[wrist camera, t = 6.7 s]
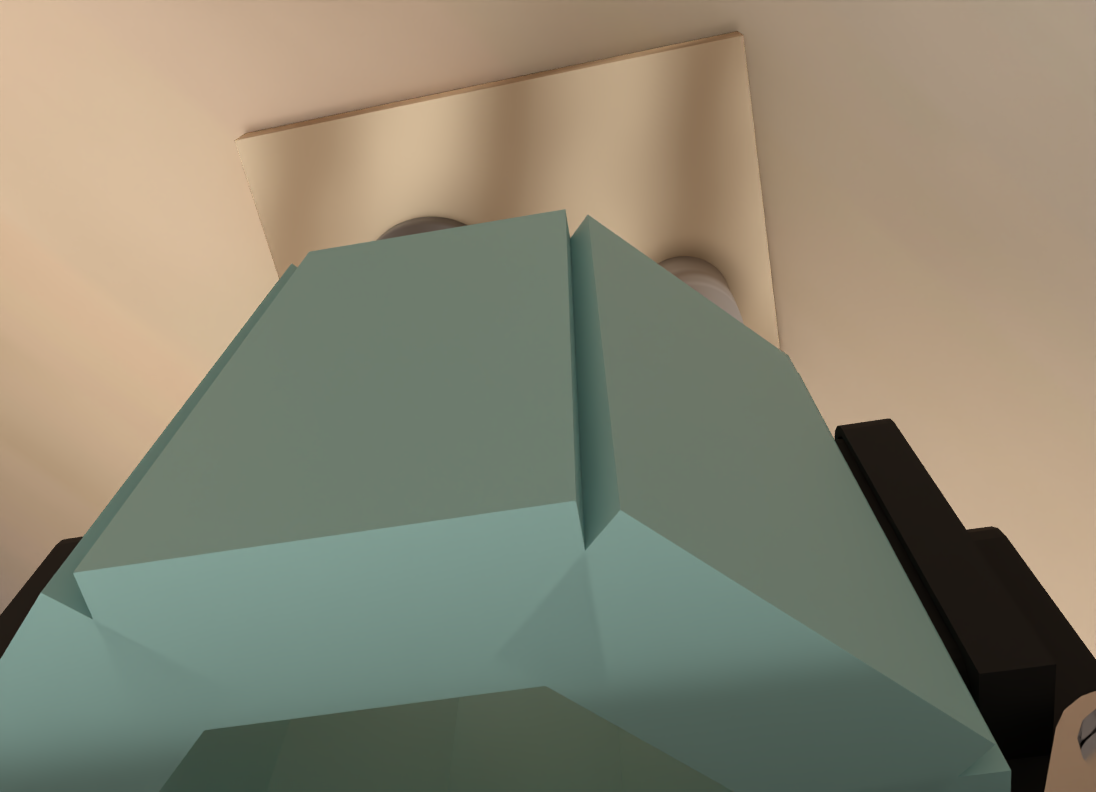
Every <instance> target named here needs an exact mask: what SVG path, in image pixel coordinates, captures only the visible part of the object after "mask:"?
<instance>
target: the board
mask: <svg viewBox="0 0 1096 792" xmlns="http://www.w3.org/2000/svg"><path fill="white" fill-rule="evenodd" d="M235 144H236V147H237V151H238V154H239V157H240V160H241V163H242V166H243V169H244V172H245V175H246V178H247V181H248V184H249V187H250V190H251V194H252V197H253V200H254V203H255V206H256V209H257V212H258V215H259V218H260V221H261V224H262V227H263V230H264V234H265V237H266V240H267V243H268V246H269V249H270V252H271V255H272V258H273V261H274V264H275V267H276V270H277V273H278V277H279V279H280V278H281V277H282V275H283V274H284V273H285V271H286V270H287V269H288V267H289V266H290V265H291V263H292V264H293V265H295V266H296V267H298V266H299V265H300V264H301V262H302V261H303V259H304V258H305V257H306V255H307V254H308V253H309V252H310V251H316V250H322V249H328V248H334V247H340V246H346V245H352V244H358V243H364V242H370V241H376V240H382V239H388V238H394V237H400V236H406V235H412V234H418V233H425V232H431V231H437V230H443V229H449V228H455V227H461V226H467V225H473V224H479V223H485V222H491V221H497V220H503V219H509V218H515V217H521V216H527V215H533V214H539V213H545V212H551V211H557V210H563V209H566V216H567V222H568V228H569V234H570V238H571V236H572V235H573V234H574V232H575V231H576V230H577V228H578V227H579V226H580V224H581V223H582V222H583V220H584V219H585V217H586V216H587V215H589V216H591V217H592V218H594V219H595V220H596V221H598V222H599V223H601V224H602V225H603V226H605V227H606V228H608V229H609V230H611V231H612V232H613V233H615V234H616V235H618V236H619V237H621V238H622V239H623V240H625V241H626V242H628V243H629V244H630V245H632V246H633V247H635V248H636V249H638V250H639V251H640V252H642V253H643V254H645V255H646V256H647V257H649V258H650V259H652V260H653V261H655V262H656V263H657V264H659V265H660V266H662V267H663V268H665V269H666V270H667V271H669V272H670V273H672V274H673V275H674V276H676V277H677V278H679V279H680V280H682V281H683V282H684V283H686V284H687V285H689V286H690V287H691V288H693V289H694V290H696V291H697V292H699V293H700V294H701V295H703V296H704V297H706V298H707V299H708V300H710V301H711V302H713V303H714V304H716V305H717V306H718V307H720V308H721V309H723V310H724V311H726V312H727V313H728V314H730V315H731V316H733V317H734V318H735V319H737V320H738V321H740V322H741V323H743V324H744V325H745V326H747V327H748V328H750V329H751V330H752V331H754V332H755V333H757V334H758V335H760V336H761V337H762V338H764V339H765V340H767V341H768V342H769V343H771V344H772V345H774V346H775V347H777V348H778V349H779V350H780V346H779V337H778V328H777V320H776V311H775V303H774V294H773V286H772V277H771V268H770V260H769V251H768V243H767V234H766V226H765V217H764V208H763V200H762V191H761V183H760V174H759V166H758V157H757V148H756V140H755V131H754V123H753V114H752V106H751V97H750V88H749V80H748V71H747V63H746V54H745V46H744V37H743V35H742V34H741V33H739V32H738V31H736V32H731V33H727V34H722V35H717V36H712V37H707V38H703V39H698V40H693V41H688V42H683V43H679V44H674V45H669V46H664V47H659V48H654V49H650V50H645V51H640V52H635V53H630V54H626V55H621V56H616V57H611V58H606V59H601V60H597V61H592V62H587V63H582V64H577V65H573V66H568V67H563V68H558V69H553V70H549V71H544V72H539V73H534V74H529V75H524V76H520V77H515V78H510V79H505V80H500V81H496V82H491V83H486V84H481V85H476V86H471V87H467V88H462V89H457V90H452V91H447V92H443V93H438V94H433V95H428V96H423V97H419V98H414V99H409V100H404V101H399V102H394V103H390V104H385V105H380V106H375V107H370V108H366V109H361V110H356V111H351V112H346V113H342V114H337V115H332V116H327V117H322V118H317V119H313V120H308V121H303V122H298V123H293V124H289V125H284V126H279V127H274V128H269V129H264V130H260V131H255V132H250V133H245V134H244V135H242V136H241V137H239V138H238V139H236V140H235Z"/></svg>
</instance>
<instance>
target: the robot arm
mask: <svg viewBox="0 0 1096 792" xmlns="http://www.w3.org/2000/svg"><path fill="white" fill-rule="evenodd" d="M835 442H836V444H837V446H838V448H839V450H840V451H841V453H842V455H843V457H844V459H845V461H846V463H847V464H848V466H849V468H850V470H851V472H852V474H853V476H854V478H855V479H856V481H857V483H858V485H859V487H860V489H861V491H862V493H863V494H864V496H865V498H866V500H867V502H868V504H869V506H870V507H871V509H872V511H873V513H874V515H875V517H876V519H877V521H878V522H879V524H880V526H881V528H882V530H883V532H884V534H885V536H886V537H887V539H888V541H889V543H890V545H891V547H892V549H893V550H894V552H895V554H896V556H897V558H898V560H899V562H900V564H901V565H902V567H903V569H904V571H905V573H906V575H907V577H908V579H909V580H910V582H911V584H912V586H913V588H914V590H915V592H916V593H917V595H918V597H919V599H920V601H921V603H922V605H923V607H924V608H925V610H926V612H927V614H928V616H929V618H930V620H931V622H932V623H933V625H934V627H935V629H936V631H937V633H938V635H939V636H940V638H941V640H942V642H943V644H944V646H945V648H946V650H947V651H948V653H949V655H950V657H951V659H952V661H953V663H954V665H955V666H956V668H957V670H958V672H959V674H960V676H961V678H962V679H963V681H964V683H965V685H966V687H967V689H968V691H969V693H970V694H971V696H972V698H973V700H974V702H975V704H976V706H977V708H978V709H979V711H980V713H981V715H982V717H983V719H984V721H985V722H986V724H987V726H988V728H989V730H990V732H991V734H992V736H993V737H994V739H995V741H996V743H997V745H998V747H999V749H1000V751H1001V752H1002V754H1003V756H1004V758H1005V760H1006V762H1007V764H1008V765H1009V767H1010V769H1011V792H1096V659H1095V658H1094V656H1093V655H1092V654H1091V652H1090V651H1089V650H1088V648H1087V647H1086V645H1085V644H1084V643H1083V641H1082V640H1081V639H1080V637H1079V636H1078V634H1077V633H1076V632H1075V630H1074V629H1073V628H1072V626H1071V625H1070V623H1069V622H1068V621H1067V619H1066V618H1065V617H1064V615H1063V614H1062V612H1061V611H1060V610H1059V608H1058V607H1057V606H1056V604H1055V603H1054V601H1053V600H1052V599H1051V597H1050V596H1049V595H1048V593H1047V592H1046V590H1045V589H1044V588H1043V586H1042V585H1041V584H1040V582H1039V581H1038V579H1037V578H1036V577H1035V575H1034V574H1033V573H1032V571H1031V570H1030V569H1029V567H1028V566H1027V564H1026V563H1025V562H1024V560H1023V559H1022V558H1021V556H1020V555H1019V553H1018V552H1017V551H1016V549H1015V548H1014V547H1013V545H1012V544H1011V542H1010V541H1009V540H1008V538H1007V537H1006V536H1005V535H1004V534H1003V533H1002V532H1001V531H1000V530H999V529H998V528H995V527H992V526H991V527H984V528H976V529H969V530H966V529H965V527H964V526H963V524H962V523H961V521H960V520H959V518H958V517H957V515H956V514H955V512H954V511H953V509H952V508H951V506H950V505H949V503H948V502H947V500H946V499H945V497H944V496H943V494H942V493H941V491H940V490H939V488H938V487H937V485H936V484H935V483H934V481H933V480H932V478H931V477H930V475H929V474H928V472H927V471H926V469H925V468H924V466H923V465H922V463H921V462H920V460H919V459H918V457H917V456H916V454H915V453H914V451H913V450H912V448H911V447H910V445H909V444H908V442H907V441H906V439H905V438H904V436H903V435H902V433H901V432H900V430H899V429H898V427H897V426H896V424H895V423H894V422H893V421H892V420H891V419H882V420H875V421H868V422H861V423H855V424H848V425H841V426H837V428H836V430H835ZM83 537H84V536H83ZM83 537H77V538H70V539H64V540H62V541H60V542H59V543H58V544H57V545H56V546H55V547H54V548H53V550H52V551H51V552H50V553H49V555H48V556H47V557H46V559H45V560H44V561H43V562H42V564H41V565H40V566H39V567H38V569H37V570H36V571H35V572H34V574H33V575H32V576H31V577H30V579H29V580H28V581H27V582H26V584H25V585H24V586H23V587H22V589H21V590H20V591H19V592H18V594H17V595H16V596H15V598H14V599H13V600H12V601H11V603H10V604H9V605H8V606H7V608H6V609H5V610H4V611H3V613H2V614H1V615H0V659H1V657H2V656H3V654H4V653H5V651H6V649H7V648H8V646H9V644H10V643H11V641H12V639H13V638H14V636H15V634H16V633H17V631H18V629H19V628H20V626H21V624H22V623H23V621H24V619H25V618H26V616H27V615H28V613H29V611H30V610H31V608H32V606H33V605H34V603H35V601H36V600H37V598H38V596H39V595H40V593H41V592H42V590H43V589H44V588H45V586H46V585H47V584H48V582H49V581H50V580H51V579H52V577H53V576H54V575H55V573H56V572H57V571H58V569H59V568H60V567H61V565H62V564H63V563H64V561H65V560H66V559H67V558H68V556H69V555H70V554H71V552H72V551H73V550H74V548H75V547H76V546H77V544H78V543H79V542H80V540H81V539H82V538H83Z"/></svg>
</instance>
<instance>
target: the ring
mask: <svg viewBox="0 0 1096 792" xmlns="http://www.w3.org/2000/svg"><path fill="white" fill-rule="evenodd" d="M0 792H1011V769H1010V767H1009V765H1008V764H1007V762H1006V760H1005V758H1004V756H1003V754H1002V752H1001V751H1000V749H999V747H998V745H997V743H996V741H995V739H994V737H993V736H992V734H991V732H990V730H989V728H988V726H987V724H986V722H985V721H984V719H983V717H982V715H981V713H980V711H979V709H978V708H977V706H976V704H975V702H974V700H973V698H972V696H971V694H970V693H969V691H968V689H967V687H966V685H965V683H964V681H963V679H962V678H961V676H960V674H959V672H958V670H957V668H956V666H955V665H954V663H953V661H952V659H951V657H950V655H949V653H948V651H947V650H946V648H945V646H944V644H943V642H942V640H941V638H940V636H939V635H938V633H937V631H936V629H935V627H934V625H933V623H932V622H931V620H930V618H929V616H928V614H927V612H926V610H925V608H924V607H923V605H922V603H921V601H920V599H919V597H918V595H917V593H916V592H915V590H914V588H913V586H912V584H911V582H910V580H909V579H908V577H907V575H906V573H905V571H904V569H903V567H902V565H901V564H900V562H899V560H898V558H897V556H896V554H895V552H894V550H893V549H892V547H891V545H890V543H889V541H888V539H887V537H886V536H885V534H884V532H883V530H882V528H881V526H880V524H879V522H878V521H877V519H876V517H875V515H874V513H873V511H872V509H871V507H870V506H869V504H868V502H867V500H866V498H865V496H864V494H863V493H862V491H861V489H860V487H859V485H858V483H857V481H856V479H855V478H854V476H853V474H852V472H851V470H850V468H849V466H848V464H847V463H846V461H845V459H844V457H843V455H842V453H841V451H840V450H839V448H838V446H837V444H836V442H835V440H834V438H833V436H832V435H831V433H830V431H829V429H828V427H827V425H826V423H825V421H824V420H823V418H822V416H821V414H820V412H819V410H818V408H817V407H816V405H815V403H814V401H813V399H812V397H811V395H810V393H809V392H808V390H807V388H806V386H805V384H804V382H803V380H802V378H801V377H800V375H799V373H797V371H796V369H795V367H794V365H793V363H792V362H791V360H790V358H789V356H788V355H787V354H785V353H784V352H782V351H781V350H779V349H778V348H777V347H775V346H774V345H772V344H771V343H769V342H768V341H767V340H765V339H764V338H762V337H761V336H760V335H758V334H757V333H755V332H754V331H752V330H751V329H750V328H748V327H747V326H745V325H744V324H743V323H741V322H740V321H738V320H737V319H735V318H734V317H733V316H731V315H730V314H728V313H727V312H726V311H724V310H723V309H721V308H720V307H718V306H717V305H716V304H714V303H713V302H711V301H710V300H708V299H707V298H706V297H704V296H703V295H701V294H700V293H699V292H697V291H696V290H694V289H693V288H691V287H690V286H689V285H687V284H686V283H684V282H683V281H682V280H680V279H679V278H677V277H676V276H674V275H673V274H672V273H670V272H669V271H667V270H666V269H665V268H663V267H662V266H660V265H659V264H657V263H656V262H655V261H653V260H652V259H650V258H649V257H647V256H646V255H645V254H643V253H642V252H640V251H639V250H638V249H636V248H635V247H633V246H632V245H630V244H629V243H628V242H626V241H625V240H623V239H622V238H621V237H619V236H618V235H616V234H615V233H613V232H612V231H611V230H609V229H608V228H606V227H605V226H603V225H602V224H601V223H599V222H598V221H596V220H595V219H594V218H592V217H591V216H589V215H587V216H586V217H585V219H584V220H583V222H582V223H581V224H580V226H579V227H578V228H577V230H576V231H575V232H574V234H573V235H572V236H571V238H570V234H569V228H568V222H567V216H566V209H563V210H557V211H551V212H545V213H539V214H533V215H527V216H521V217H515V218H509V219H503V220H497V221H491V222H485V223H479V224H473V225H467V226H461V227H455V228H449V229H443V230H437V231H431V232H425V233H418V234H412V235H406V236H400V237H394V238H388V239H382V240H376V241H370V242H364V243H358V244H352V245H346V246H340V247H334V248H328V249H322V250H316V251H310V252H309V253H308V254H307V255H306V257H305V258H304V259H303V261H302V262H301V264H300V265H299V266H298V267H296V266H295V265H293V264H292V263H291V265H290V266H289V267H288V269H287V270H286V271H285V273H284V274H283V275H282V277H281V278H280V279H279V281H278V282H277V283H276V284H275V286H274V287H273V288H272V290H271V291H270V292H269V294H268V295H267V296H266V298H265V299H264V300H263V302H262V303H261V304H260V305H259V307H258V308H257V309H256V311H255V312H254V313H253V315H252V316H251V317H250V319H249V320H248V321H247V323H246V324H245V325H244V326H243V328H242V329H241V330H240V332H239V333H238V334H237V336H236V337H235V338H234V340H233V341H232V342H231V344H230V345H229V346H228V347H227V349H226V350H225V351H224V353H223V354H222V355H221V357H220V358H219V359H218V361H217V362H216V363H215V365H214V366H213V367H212V368H211V370H210V371H209V372H208V374H207V375H206V376H205V378H204V379H203V380H202V382H201V383H200V384H199V386H198V387H197V388H196V389H195V391H194V392H193V393H192V395H191V396H190V397H189V399H188V400H187V401H186V403H185V404H184V405H183V407H182V408H181V409H180V410H179V412H178V413H177V414H176V416H175V417H174V418H173V420H172V421H171V422H170V424H169V425H168V426H167V428H166V429H165V430H164V431H163V433H162V434H161V435H160V437H159V438H158V439H157V441H156V442H155V443H154V445H153V446H152V447H151V449H150V450H149V451H148V452H147V454H146V455H145V456H144V458H143V459H142V460H141V462H140V463H139V464H138V466H137V467H136V468H135V470H134V471H133V472H132V474H131V475H130V476H129V477H128V479H127V480H126V481H125V483H124V484H123V485H122V487H121V488H120V489H119V491H118V492H117V493H116V495H115V496H114V497H113V498H112V500H111V501H110V502H109V504H108V505H107V506H106V508H105V509H104V510H103V512H102V513H101V514H100V516H99V517H98V518H97V519H96V521H95V522H94V523H93V525H92V526H91V527H90V529H89V530H88V531H87V533H86V534H85V535H84V537H83V538H82V539H81V540H80V542H79V543H78V544H77V546H76V547H75V548H74V550H73V551H72V552H71V554H70V555H69V556H68V558H67V559H66V560H65V561H64V563H63V564H62V565H61V567H60V568H59V569H58V571H57V572H56V573H55V575H54V576H53V577H52V579H51V580H50V581H49V582H48V584H47V585H46V586H45V588H44V589H43V590H42V592H41V593H40V595H39V596H38V598H37V600H36V601H35V603H34V605H33V606H32V608H31V610H30V611H29V613H28V615H27V616H26V618H25V619H24V621H23V623H22V624H21V626H20V628H19V629H18V631H17V633H16V634H15V636H14V638H13V639H12V641H11V643H10V644H9V646H8V648H7V649H6V651H5V653H4V654H3V656H2V657H1V659H0Z"/></svg>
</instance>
